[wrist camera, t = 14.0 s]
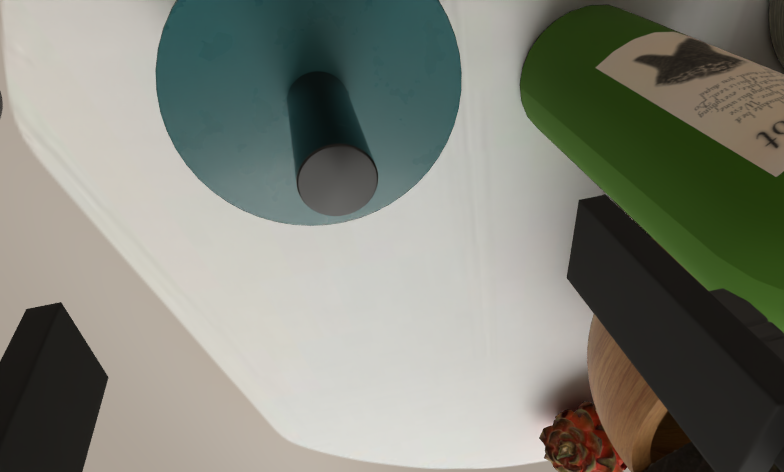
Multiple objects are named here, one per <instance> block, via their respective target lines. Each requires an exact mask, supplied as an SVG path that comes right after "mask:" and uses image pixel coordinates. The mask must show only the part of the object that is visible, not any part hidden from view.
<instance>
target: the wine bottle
mask: <svg viewBox="0 0 784 472" xmlns="http://www.w3.org/2000/svg"><path fill="white" fill-rule="evenodd" d="M520 91H521V101H522V104H523V107H524V109H525V112H526V114H527V117H528V118H529V119H530V120H531V121H532V123H533V124H534V125H535V126H536V127H537V128H538V129H539V130H540V131H541V132H542V133H543V134H544V135H545V136H546V137H547V138H548V139H549V140H551V141H552V142H553V143H554V144H555V145H556V146H557V147H558V148H559V149H560V150H561V151H562V152H563V153H564V154H565V155H566V156H567V157H568V158H569V159H570V160H572V161H573V162H574V163H575V164H576V165H577V166H578V167H579V168H580V169H581V170H582V171H583V172H584V173H585V174H586V175H587V176H588V177H589V178H590V179H592V180H593V181H594V182H595V183H596V184H597V185H598V186H599V187H600V188H601V189H602V190H603V191H604V192H605V193H606V194H607V195H608V196H609V197H610V198H611V199H613V200H614V201H615V202H616V203H617V204H618V205H619V206H620V207H621V208H622V209H623V210H624V211H625V212H626V213H627V214H628V215H629V216H630V217H631V218H632V219H634V220H635V221H636V222H637V223H638V224H639V225H640V226H641V227H642V228H643V229H644V230H645V231H646V232H647V233H648V234H649V235H650V236H651V237H652V238H654V239H655V240H656V241H657V242H658V243H659V244H660V245H661V246H662V247H663V248H664V249H665V250H666V251H667V252H668V253H669V254H670V255H671V256H672V257H673V258H675V259H676V260H677V261H678V262H679V263H680V264H681V265H682V266H683V267H684V268H685V269H686V270H687V271H688V272H689V273H690V274H691V275H692V276H693V277H695V278H696V279H697V280H698V281H699V282H700V283H701V284H702V285H703V286H704V287H705V288H706V289H707V290H708V291H712V290H716V289H721V288H724V289H726V290H728V291H730V292H731V293H733V294H735V295H737V296H739V297H741V298H743V299H745V300H747V301H748V302H749V303H751V304H752V305H753V306H754V307H755V308H756V309H757V310H759V311H760V312H761V313H762V314H763V315H764V316H765V317H766V318H768V319H767V320H768V322H772V323H773V324H774V325H776V326H777V327H778V328H779V329H780V330H781V331H782V332H784V74H782V73H779V72H777V71H774V70H772V69H769V68H767V67H764V66H762V65H759V64H757V63H754V62H752V61H749V60H747V59H745V58H742V57H740V56H737V55H735V54H732V53H730V52H727V51H725V50H722V49H720V48H717V47H715V46H712V45H710V44H707V43H705V42H702V41H700V40H697V39H695V38H693V37H690V36H687V35H685V34H682V33H680V32H677V31H675V30H672V29H670V28H668V27H665V26H663V25H660V24H658V23H655V22H653V21H650V20H648V19H645V18H643V17H640V16H638V15H635V14H633V13H630V12H628V11H625V10H623V9H620V8H617V7H613V6H610V5H590V6H586V7H583V8H580V9H577V10H574V11H571V12H569V13H567V14H565V15H564V16H562V17H560V18H559V19H557V20H556V21H554V22H553V23H552V24H551V25H550V26H549V27H548V28H547V29H546V30H545V31H544V32H543V33H542V34H541V35H540V36H539V37H538V39H537V40H536V42H535V43H534V45H533V46H532V48H531V49H530V51H529V53H528V55H527V58H526V60H525V63H524V65H523V68H522V74H521V80H520ZM783 334H784V333H783Z"/></svg>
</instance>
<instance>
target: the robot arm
mask: <svg viewBox="0 0 784 472" xmlns="http://www.w3.org/2000/svg"><path fill="white" fill-rule="evenodd" d="M567 279H568V280H569V281H570V283H571V284H572V285H573V287H574V288H575V289H576V291H577V292H578V293H579V294H580V296H581V297H582V298H583V300H584V301H585V302H586V304H587V305H588V306H589V308H590V309H591V310H592V312H593V313H594V314H595V315H596V317H597V318H598V319H599V321H600V322H601V323H602V325H603V326H604V327H605V329H606V330H607V331H608V333H609V334H610V335H611V336H612V338H613V339H614V340H615V342H616V343H617V344H618V346H619V347H620V348H621V350H622V351H623V352H624V354H625V355H626V356H627V357H628V359H629V360H630V361H631V363H632V364H633V365H634V367H635V368H636V369H637V371H638V372H639V373H640V375H641V376H642V377H643V378H644V380H645V381H646V382H647V384H648V385H649V386H650V388H651V389H652V390H653V392H654V393H655V394H656V396H657V397H658V398H659V399H660V401H661V402H662V403H663V405H664V406H665V407H666V409H667V410H668V411H669V413H670V414H671V415H672V416H673V418H674V419H675V420H676V422H677V423H678V424H679V426H680V427H681V428H682V430H683V431H684V432H685V434H686V435H687V436H688V437H689V439H690V440H691V441H692V443H693V444H694V445H695V447H696V448H697V449H698V451H699V452H700V453H701V455H702V456H703V457H704V458H705V460H706V461H707V462H708V464H709V465H710V466H711V468H712V469H713V470H714V472H769V470H770V469H771V467H772V466H773V464H775V465H776V466H777V467H778V469H779V470H780V471H781V472H784V334H783V333H784V332H782V331H781V330H780V329H779V328H778V327H777V326H776V325H774V324H773V323H772V322H768V320H767V319H768V318H766V317H765V316H764V315H763V314H762V313H761V312H760V311H759V310H757V309H756V308H755V307H754V306H753V305H752V304H751V303H749V302H748V301H747V300H745V299H743V298H741V297H739V296H737V295H735V294H733V293H731V292H730V291H728V290H726V289H724V288H721V289H716V290H712V291H708V290H707V289H706V288H704V287H703V286H702V285H701V284H700V283H699V282H698V281H697V280H696V279H695V278H694V277H693V276H692V275H691V274H690V273H688V272H687V271H686V270H685V269H684V268H683V267H682V266H681V265H680V264H679V263H678V262H677V261H676V260H675V259H673V258H672V257H671V256H670V255H669V254H668V253H667V252H666V251H665V250H664V249H663V248H662V247H661V246H660V245H659V244H657V243H656V242H655V241H654V240H653V239H652V238H651V237H650V236H649V235H648V234H647V233H646V232H645V231H644V230H642V229H641V228H640V227H639V226H638V225H637V224H636V223H635V222H634V221H633V220H632V219H631V218H630V217H629V216H628V215H626V214H625V213H624V212H623V211H622V210H621V209H620V208H619V207H618V206H617V205H616V204H615V203H614V202H613V201H611V200H610V199H609V198H608V197H607V196H606V195H602V196H597V197H592V198H587V199H582V200H579V203H578V209H577V216H576V222H575V228H574V235H573V241H572V247H571V254H570V260H569V267H568V273H567ZM107 380H108V376H107V375H106V373H105V371H104V370H103V368H102V366H101V365H100V363H99V362H98V360H97V358H96V357H95V355H94V354H93V352H92V351H91V349H90V347H89V346H88V344H87V343H86V341H85V339H84V338H83V336H82V335H81V333H80V331H79V330H78V328H77V327H76V325H75V324H74V322H73V320H72V319H71V317H70V316H69V314H68V312H67V311H66V309H65V308H64V306H63V305H62V303H61V302H60V303H55V304H50V305H45V306H40V307H35V308H30V309H26V311H25V313H24V315H23V317H22V319H21V321H20V323H19V325H18V327H17V329H16V331H15V333H14V335H13V337H12V339H11V341H10V343H9V345H8V347H7V349H6V351H5V353H4V355H3V357H2V359H1V361H0V472H82V471H83V467H84V464H85V460H86V457H87V453H88V449H89V445H90V442H91V438H92V434H93V431H94V428H95V424H96V420H97V417H98V413H99V409H100V405H101V402H102V399H103V395H104V391H105V388H106V384H107Z"/></svg>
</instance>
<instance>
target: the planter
mask: <svg viewBox="0 0 784 472" xmlns="http://www.w3.org/2000/svg"><path fill="white" fill-rule="evenodd" d="M769 26H770V34H771V40H772V44H773V47H774V50H775V53H776V55H777V57H778V59H779V61H780V63H781V65H782V66H783V67H784V0H770V4H769Z"/></svg>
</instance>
